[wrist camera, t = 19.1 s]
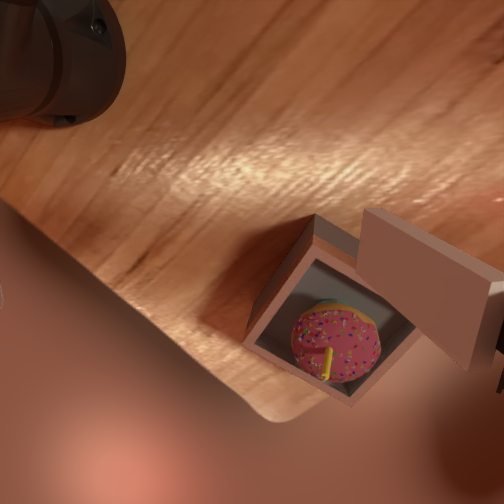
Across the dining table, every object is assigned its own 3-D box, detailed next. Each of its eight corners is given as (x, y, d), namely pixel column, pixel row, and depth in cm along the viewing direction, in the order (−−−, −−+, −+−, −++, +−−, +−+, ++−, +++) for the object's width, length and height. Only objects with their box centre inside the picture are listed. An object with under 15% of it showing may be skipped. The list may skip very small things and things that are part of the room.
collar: (245, 331, 48) (241, 345, 46) (313, 234, 42) (312, 244, 39) (351, 391, 49) (352, 407, 47) (432, 304, 43) (438, 318, 41)
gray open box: (253, 303, 53) (245, 331, 48) (315, 213, 47) (313, 234, 42) (348, 357, 54) (351, 391, 49) (421, 276, 48) (432, 304, 43)
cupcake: (278, 304, 46) (263, 381, 35) (349, 268, 43) (357, 340, 32) (320, 361, 48) (318, 450, 37) (391, 331, 45) (410, 419, 34)
